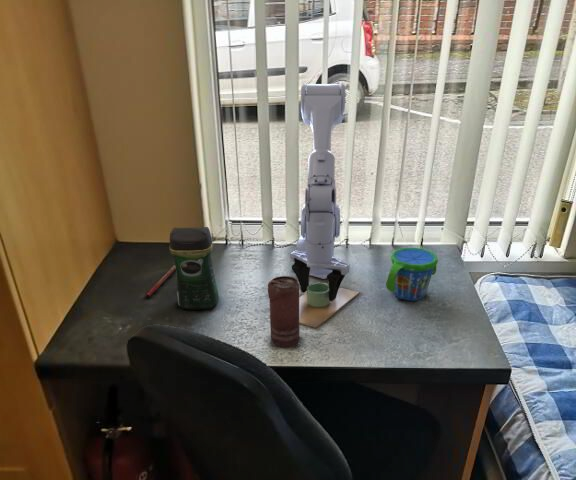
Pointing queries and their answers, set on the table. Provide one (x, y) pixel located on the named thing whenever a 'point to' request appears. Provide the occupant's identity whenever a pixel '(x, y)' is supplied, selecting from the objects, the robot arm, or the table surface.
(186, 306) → the coffee jar
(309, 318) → the mat
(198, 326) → the table surface
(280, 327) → the can
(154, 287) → the pencil
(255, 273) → the table surface
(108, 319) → the table surface
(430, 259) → the snack cup
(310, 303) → the bowl
